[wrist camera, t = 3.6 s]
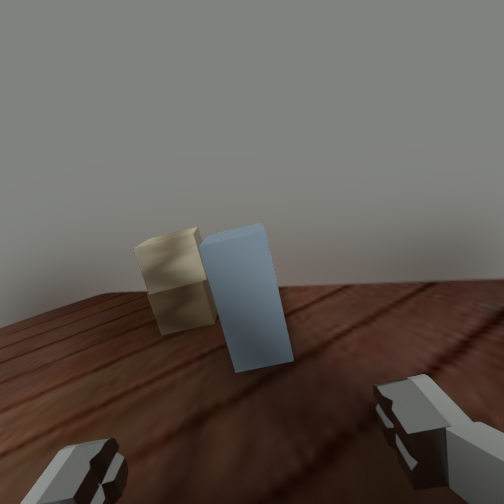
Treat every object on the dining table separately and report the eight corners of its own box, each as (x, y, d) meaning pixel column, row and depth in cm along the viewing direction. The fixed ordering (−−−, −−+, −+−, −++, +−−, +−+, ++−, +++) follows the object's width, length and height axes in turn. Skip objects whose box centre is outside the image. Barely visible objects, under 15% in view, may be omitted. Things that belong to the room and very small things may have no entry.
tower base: (161, 335, 27) (146, 294, 26) (177, 310, 33) (165, 275, 32) (214, 324, 27) (202, 281, 26) (221, 300, 33) (211, 264, 32)
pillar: (235, 373, 19) (198, 246, 17) (238, 338, 23) (209, 234, 21) (294, 360, 19) (265, 230, 16) (285, 328, 23) (262, 222, 21)
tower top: (149, 294, 26) (133, 248, 25) (161, 276, 32) (149, 238, 30) (206, 279, 26) (193, 233, 25) (208, 264, 32) (197, 226, 31)
